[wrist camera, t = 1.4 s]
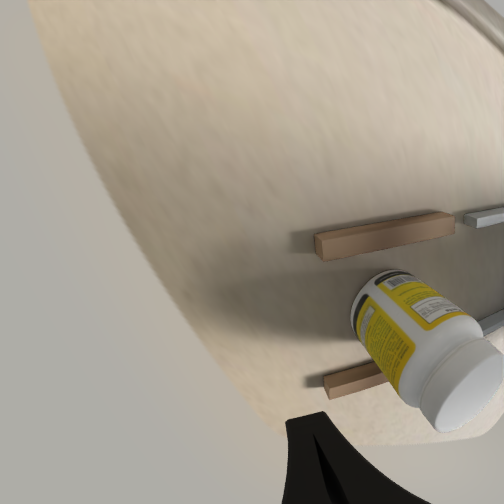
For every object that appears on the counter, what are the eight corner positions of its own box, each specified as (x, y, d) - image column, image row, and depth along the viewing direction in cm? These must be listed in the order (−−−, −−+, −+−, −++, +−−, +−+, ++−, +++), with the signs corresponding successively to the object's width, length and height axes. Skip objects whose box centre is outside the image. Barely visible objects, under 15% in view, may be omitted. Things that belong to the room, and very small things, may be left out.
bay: (524, 203, 16) (535, 206, 14) (509, 311, 18) (518, 316, 17) (464, 214, 15) (477, 218, 14) (450, 340, 18) (459, 348, 17)
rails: (441, 211, 15) (454, 216, 14) (428, 353, 18) (437, 362, 17) (314, 234, 15) (321, 240, 13) (323, 387, 18) (329, 399, 17)
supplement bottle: (374, 353, 17) (442, 450, 9) (332, 311, 16) (407, 423, 8) (428, 300, 17) (517, 375, 9) (395, 249, 15) (506, 323, 7)
